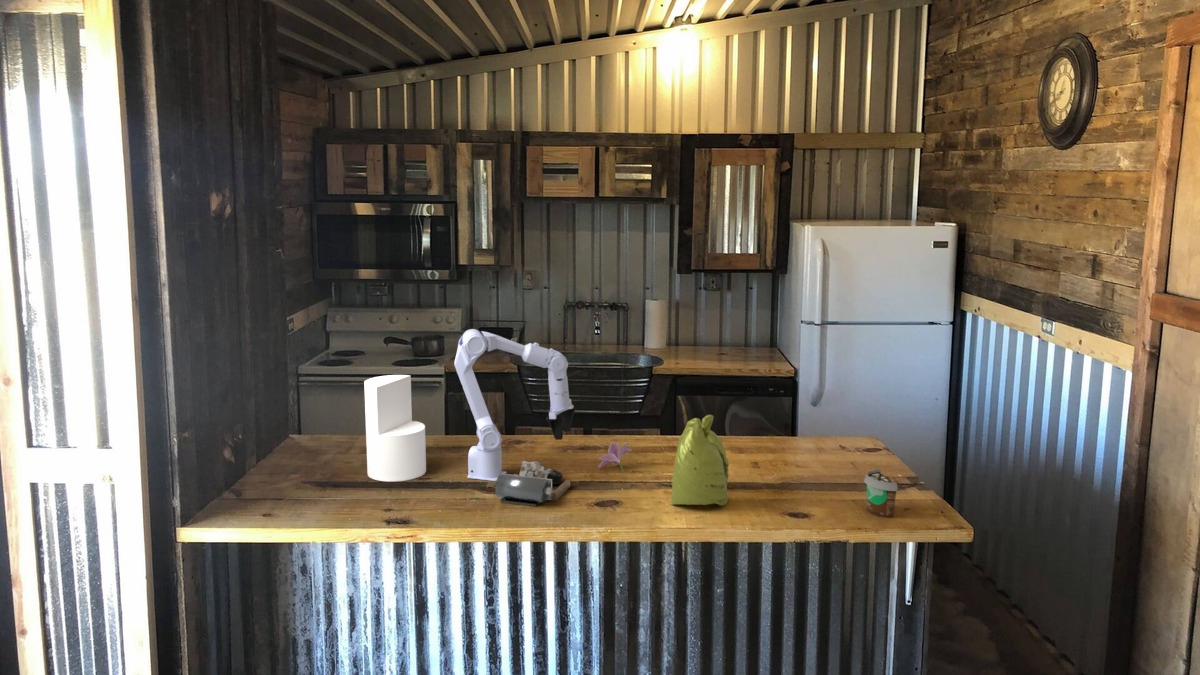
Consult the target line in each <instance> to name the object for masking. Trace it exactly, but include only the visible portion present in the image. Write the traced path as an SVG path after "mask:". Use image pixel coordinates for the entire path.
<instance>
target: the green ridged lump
mask: <svg viewBox="0 0 1200 675" xmlns="http://www.w3.org/2000/svg"><path fill="white" fill-rule="evenodd" d="M713 420H714V415H712V414H706V415H705V416H704V417H703V418H702V419H700V418H697V417H694V418H692V419H690V420H688V421H687V422H686V426H685V428H684V430H683V432H682V434H681V435H680V436H679V438H678V442H677V445H676V446H677V447H676V455H675V458H674V464H673V473H672V479H671V480H672V485H671V488H672V490H671V492H672V494H671V502H670V504H671V505H673V506H674V505H676V506H677V505H683V506H684V505H687V506H693V505H695V506H696V505H697V506H699V505H703V506H707V505H713V504H715V505H719V506H725V505H726V504H727V502H729V501H728V500H729V499H728V498H729V496H728V488H727V487H728V479H729V466H730V465H729V464H730V463H729V460H728V458H727V454H726V449H725V446H724V444H723V441H722V439H721V438H720V437H719V435H717V434H716V433H715V431H713V430H711V427H712V426H713V422H714V421H713Z"/></svg>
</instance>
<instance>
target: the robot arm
mask: <svg viewBox="0 0 1200 675" xmlns="http://www.w3.org/2000/svg"><path fill="white" fill-rule="evenodd" d="M494 350H501V351H504V352H507V353H509V354H510V353H511V354H514V355H517V356H520V357H521V358H522V361H523V362H525V363H528V364H531V365H534V366H537V367H540V368H543V369H546V368H547V374H548V378H547V380H548V381H547V382H548V390H549V391H548V392H549V402H550V407H549V411H548V415H547V416H546V417H545V420H546V422H547V424H548V425H549V427H550V428H551V431H552V432H551V433H552V435H553V438H554V440H556V441H557V440H563V438H564V437H563V436H564V432H568V433H570V432H571V430H572V424H573V418H574V415H575V413H576V412H575V411H576V406H574V404H572V399H571V398H570V392H569V381H568V376H567V375H568V374H567V370H568V367H569V362H568V359H567V358H566V356H565V355H563V353H561V352H560V351H558V350H557V349H556V350H555V349H553V348H551V347H550V348H546V347H543V346H540V344H539V343H538V342H533V343H531V342H529V343H526V344H525V345H523V344H521V343H519V342H516V341H513V340H510V339H508V338H505V337H503V336H501V335H498V334H494V333H491V332H488V331H484V330H483V331H482V330H481V331H480V330H478V329H475V328H470V329H467V330H465V331H464V333H463V334H462V335H461V337H460V338H459V340H458V344H457V349H456V355H455V359H454V362H453V363H454V368H455V370H456V374H457V376H458V378H459V381H460V384H461V385H462V390H463V392H464V394H465V398H466V399H467V403H468V404H469V407H470V411H471V414H472V415H473V418H474V421H475V424H476V437H477V438H478V439H479V441H478V443H477V444H476V445H472V446H471V447H470V449H469V450H468V453H467V454H468V455H467V456H468V458H467V468H468V469H467V473H468V474H467V478H468V479H474V480H482V481H491V482H496V481H497V478H498V476H499V475H500V474H507V471H503V470H502V469H503V468H502V441H503V438H502V435H501V433H500V431H499V430H498V428H497V427H498V426H496V424H495V423H494V422H493V420H492V418H491V415H490V413H489V410H488V407H487V405H486V404H487V403H486V402H485V399H484V396H483V393H482V390H481V389H480V386H479V383H478V381H477V377H476V375H475V371H474V370H473V366H474V364H475V363H476V360H478V358H479V357H480V356H482V355H483V354H484V353H485V351H487V352H492V351H494Z"/></svg>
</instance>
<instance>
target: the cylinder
mask: <svg viewBox="0 0 1200 675" xmlns="http://www.w3.org/2000/svg"><path fill="white" fill-rule="evenodd" d="M411 376H412V375H408V374H391V375H390V374H388V375H381V376H374V377H370V378H368V379H366V380H364V381H363V383H364V385H363V386H364V387H363V388H364V391H363V392H364V412H365V414H364V416H365V417H364V418H365V441H366V444H365V445H366V466H367V468H366V470H367V477H369V478H370V479H372V480H376V481H380V482H403V481H405V482H406V481H409V480H413V479H416V478H417V479H418V478H420V477H422V476H423V475H425V474H426V472H427V457H426V456H427V452H426V451H427V449H426V448H427V447H426V425H425V423H422V422H421V421H417V420H413V413H412V412H413V411H412V378H411Z"/></svg>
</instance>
